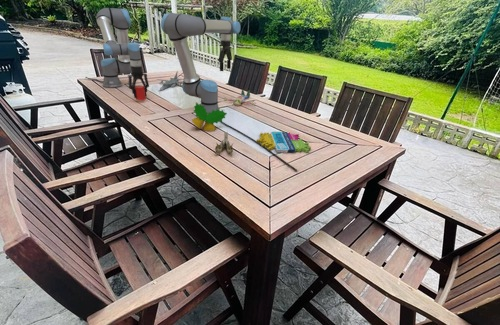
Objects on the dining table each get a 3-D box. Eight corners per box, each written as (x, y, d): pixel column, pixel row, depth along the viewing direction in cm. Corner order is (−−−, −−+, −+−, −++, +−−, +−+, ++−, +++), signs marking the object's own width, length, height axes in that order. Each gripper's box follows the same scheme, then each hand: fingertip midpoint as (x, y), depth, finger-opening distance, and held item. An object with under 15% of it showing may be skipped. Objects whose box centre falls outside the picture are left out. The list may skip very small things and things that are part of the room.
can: (139, 97, 206) (137, 84, 201) (147, 98, 205) (146, 86, 200) (133, 99, 200) (132, 87, 195) (142, 100, 199) (141, 88, 194)
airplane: (151, 82, 259) (149, 71, 254) (182, 80, 273) (181, 70, 267) (158, 92, 231) (157, 81, 226) (193, 90, 244) (192, 79, 239)
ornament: (218, 133, 171) (224, 110, 169) (221, 134, 163) (227, 111, 161) (186, 125, 162) (192, 101, 160) (189, 126, 155) (195, 101, 153)
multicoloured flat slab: (313, 150, 142) (258, 149, 139) (312, 153, 143) (258, 152, 140) (301, 132, 164) (254, 130, 161) (301, 134, 165) (254, 133, 162)
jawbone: (234, 135, 144) (233, 125, 135) (233, 160, 138) (232, 151, 129) (217, 135, 144) (216, 125, 135) (216, 160, 138) (214, 150, 129)
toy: (261, 91, 228) (254, 99, 202) (261, 99, 231) (253, 108, 205) (231, 87, 233) (220, 95, 207) (230, 95, 236) (219, 104, 210)
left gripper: (124, 68, 182) (129, 100, 193) (151, 66, 194) (155, 96, 206) (120, 66, 186) (125, 97, 198) (147, 64, 199) (150, 94, 210)
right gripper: (227, 39, 208) (227, 67, 219) (213, 40, 187) (213, 71, 198) (236, 40, 206) (235, 68, 217) (223, 41, 185) (222, 72, 196)
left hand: (140, 97), depth 202 cm, fingers closed on can, 7 cm apart
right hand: (225, 69), depth 207 cm, fingers open, 13 cm apart
